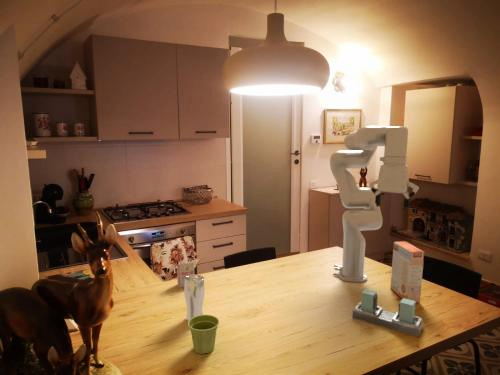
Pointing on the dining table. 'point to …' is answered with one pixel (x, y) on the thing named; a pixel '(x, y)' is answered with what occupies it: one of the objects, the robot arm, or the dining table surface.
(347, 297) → the dining table surface
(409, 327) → the grey compartment tray
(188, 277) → the beer glass
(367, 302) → the teal rectangular block
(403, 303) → the pale teal block
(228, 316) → the dining table surface
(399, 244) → the cracker box
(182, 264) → the tea bag
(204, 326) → the plant pot
